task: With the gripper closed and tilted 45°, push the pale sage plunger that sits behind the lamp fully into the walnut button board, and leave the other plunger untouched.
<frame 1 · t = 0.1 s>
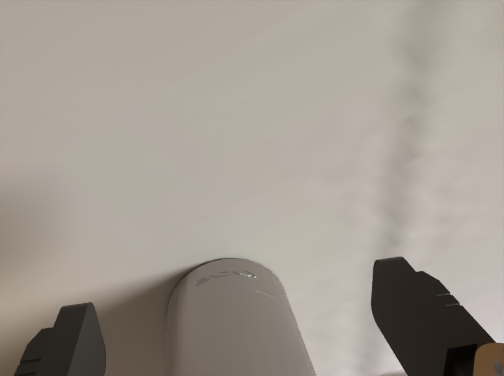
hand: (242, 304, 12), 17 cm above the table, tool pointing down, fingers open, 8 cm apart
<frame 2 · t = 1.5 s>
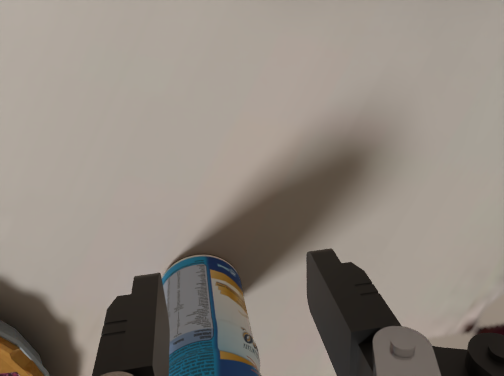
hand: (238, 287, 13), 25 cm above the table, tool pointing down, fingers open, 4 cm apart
beverage bottle: (200, 285, 43), on the table
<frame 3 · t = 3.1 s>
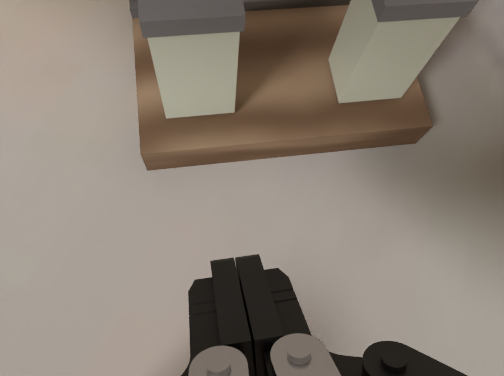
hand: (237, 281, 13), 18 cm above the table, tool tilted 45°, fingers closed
marked plunger: (194, 47, 27), point 8 cm above the table, slide at 0.0 cm
button board: (271, 72, 37), on the table
other plunger: (388, 34, 29), point 8 cm above the table, slide at 0.0 cm
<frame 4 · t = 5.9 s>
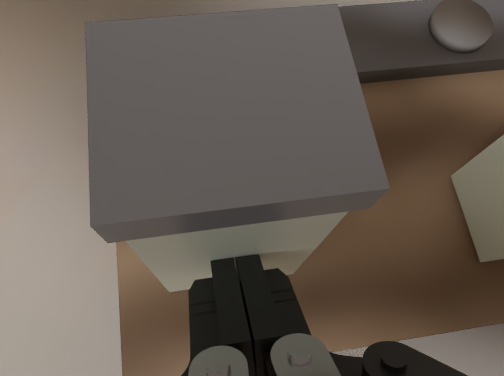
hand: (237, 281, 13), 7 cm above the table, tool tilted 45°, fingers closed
marked plunger: (226, 192, 13), point 8 cm above the table, slide at 0.7 cm, touching gripper
button board: (340, 182, 23), on the table
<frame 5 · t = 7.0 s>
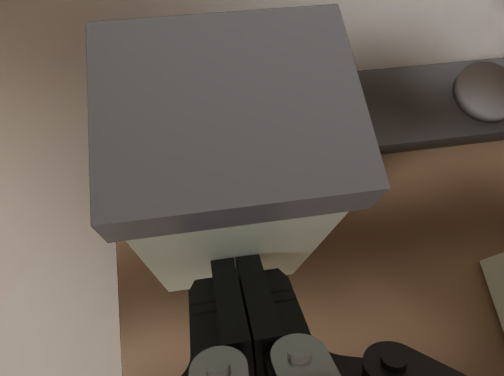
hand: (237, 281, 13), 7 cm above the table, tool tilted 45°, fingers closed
marked plunger: (226, 191, 13), point 8 cm above the table, slide at 4.6 cm, touching gripper
button board: (357, 255, 21), on the table
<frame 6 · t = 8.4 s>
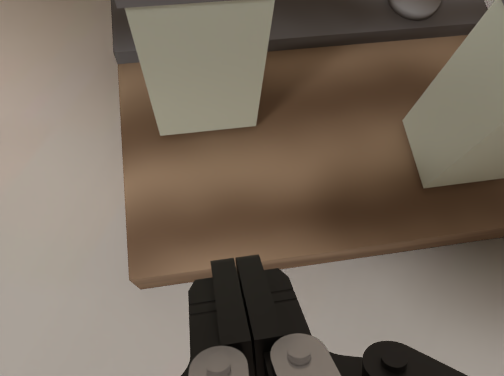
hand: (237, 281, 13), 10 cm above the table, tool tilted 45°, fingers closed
marked plunger: (199, 32, 18), point 8 cm above the table, slide at 4.6 cm
button board: (313, 132, 27), on the table
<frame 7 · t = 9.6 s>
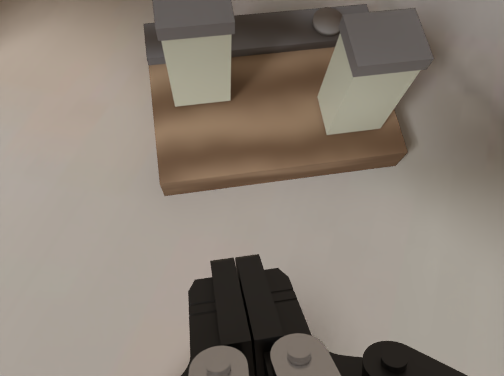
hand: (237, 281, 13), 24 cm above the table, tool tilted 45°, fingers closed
marked plunger: (196, 48, 35), point 8 cm above the table, slide at 4.6 cm
button board: (268, 106, 43), on the table
other plunger: (365, 79, 35), point 8 cm above the table, slide at 0.0 cm
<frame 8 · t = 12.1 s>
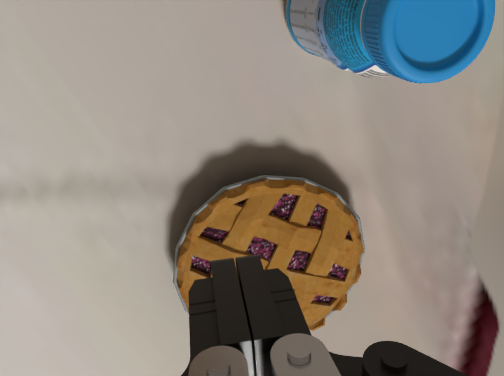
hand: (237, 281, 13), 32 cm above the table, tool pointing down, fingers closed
pie: (265, 249, 52), on the table
beverage bottle: (325, 11, 41), on the table
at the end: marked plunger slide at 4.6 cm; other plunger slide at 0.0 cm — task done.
